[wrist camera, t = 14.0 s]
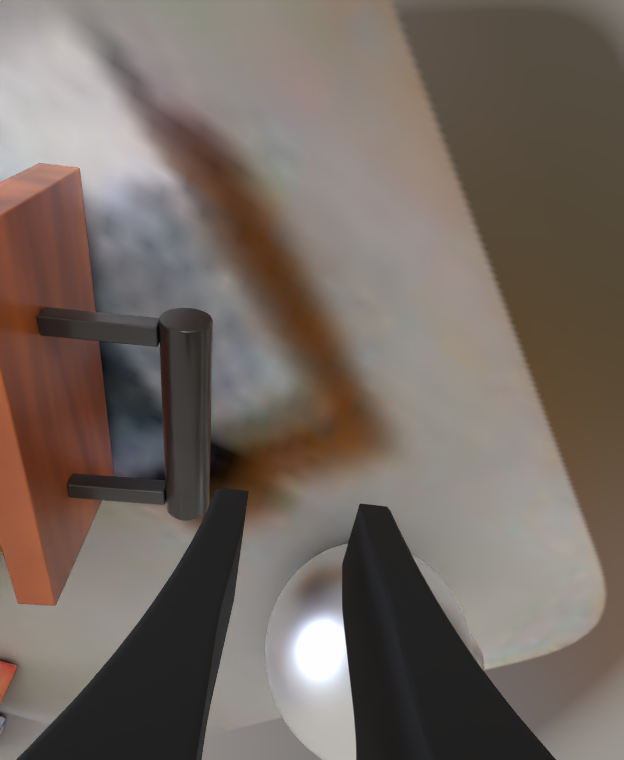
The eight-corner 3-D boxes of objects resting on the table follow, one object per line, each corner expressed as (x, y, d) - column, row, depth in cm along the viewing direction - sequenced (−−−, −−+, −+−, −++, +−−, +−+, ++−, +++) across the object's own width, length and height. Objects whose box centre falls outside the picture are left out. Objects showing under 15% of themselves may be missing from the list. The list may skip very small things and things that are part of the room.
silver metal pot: (310, 635, 30) (312, 866, 22) (243, 528, 26) (211, 771, 17) (469, 601, 29) (536, 836, 20) (429, 479, 24) (495, 722, 16)
